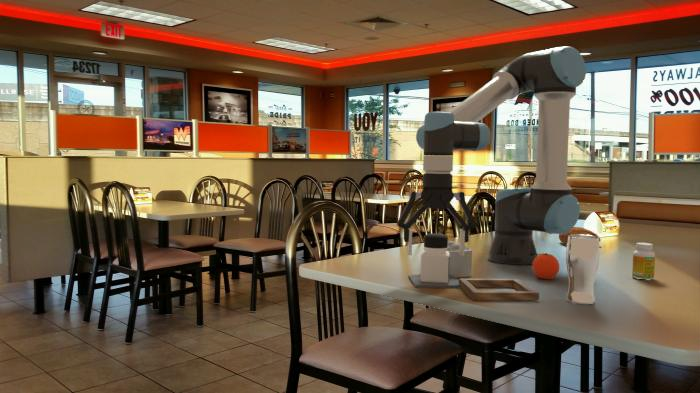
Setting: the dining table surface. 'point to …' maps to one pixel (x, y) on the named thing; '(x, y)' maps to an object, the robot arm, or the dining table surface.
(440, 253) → the medicine bottle
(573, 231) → the croissant
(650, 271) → the supplement bottle
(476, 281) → the pocket
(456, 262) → the lumpy-topped squat cylinder
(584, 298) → the beer glass
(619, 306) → the dining table surface
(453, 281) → the mat
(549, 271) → the clementine
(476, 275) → the dining table surface
